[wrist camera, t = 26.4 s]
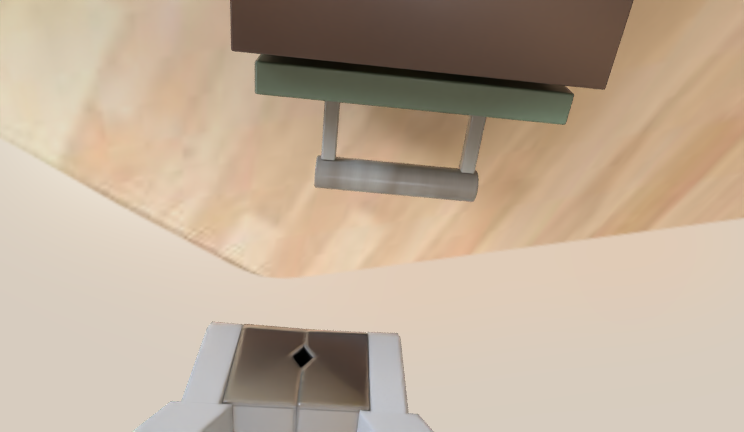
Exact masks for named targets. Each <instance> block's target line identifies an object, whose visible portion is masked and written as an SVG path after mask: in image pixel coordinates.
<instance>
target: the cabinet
mask: <svg viewBox="0 0 744 432" xmlns="http://www.w3.org/2000/svg"><path fill="white" fill-rule="evenodd" d="M632 3H633V0H230V13H231V49H232V51H237V52H247V53H257V54H266V55H276V56H285V57H295V58H305V59H314V60H324V61H333V62H343V63H353V64H362V65H372V66H381V67H391V68H401V69H410V70H420V71H429V72H439V73H449V74H458V75H468V76H477V77H487V78H497V79H506V80H516V81H525V82H535V83H545V84H554V85H564V86H573V87H583V88H593V89H602V90H603V89H605V88H606V84H607V81H608V78H609V75H610V72H611V69H612V66H613V63H614V60H615V56H616V53H617V50H618V47H619V44H620V41H621V38H622V35H623V31H624V28H625V25H626V22H627V19H628V16H629V13H630V10H631V6H632Z"/></svg>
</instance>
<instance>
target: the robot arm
mask: <svg viewBox="0 0 744 432" xmlns="http://www.w3.org/2000/svg"><path fill="white" fill-rule="evenodd" d="M132 432H433V431H432V429H431V428H430V427H429V426H428V425H427V424H426V423H425V422H424V420H423V419H422V418H421V417H420V416H419V415H418V414H409V413H408V404H407V395H406V386H405V377H404V367H403V358H402V348H401V339H400V336H399V335H398V333H381V332H368V333H366V332H351V331H350V332H349V331H331V330H315V329H299V328H288V327H275V326H264V325H253V324H244V325H242V324H234V323H222V322H212V323H211V324H210V325H209V326H208V328H207V330H206V333H205V335H204V338H203V341H202V344H201V347H200V350H199V353H198V356H197V358H196V361H195V364H194V367H193V370H192V373H191V375H190V378H189V381H188V384H187V386H186V389H185V392H184V395H183V398H182V401H181V402H179V401H171V402H169V403H168V404H167V405H165V406H164V407H163V408H162V409H160V410H159V411H158V412H157V413H155V414H154V415H153V416H151V417H150V418H149V419H148V420H146V421H145V422H144V423H142V424H141V425H140V426H139V427H137V428H136V429H135V430H134V431H132Z"/></svg>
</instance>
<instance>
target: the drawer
mask: <svg viewBox="0 0 744 432" xmlns="http://www.w3.org/2000/svg"><path fill="white" fill-rule="evenodd" d="M255 93H256V94H262V95H272V96H282V97H292V98H302V99H312V100H322V101H325V108H324V123H323V139H322V154H321V156H319V155H318V156H317V160H316V168H315V187H316V188H326V189H337V190H348V191H359V192H370V193H381V194H391V195H402V196H413V197H424V198H435V199H446V200H457V201H468V202H473V201H474V200H475V198H476V195H477V190H478V173H477V171H476V170H475V167H476V162H477V158H478V153H479V149H480V144H481V139H482V135H483V130H484V125H485V121H486V117H492V118H502V119H512V120H522V121H532V122H542V123H552V124H562V125H564V124H566V121H567V118H568V114H569V111H570V108H571V104H572V101H573V97H574V94H573V93H572V92H571V91H570V90H569V89H568V88H567V87H566V86H564V85H554V84H545V83H535V82H525V81H516V80H506V79H497V78H487V77H477V76H468V75H458V74H449V73H439V72H429V71H420V70H410V69H401V68H391V67H381V66H372V65H362V64H353V63H343V62H333V61H324V60H314V59H305V58H295V57H285V56H276V55H266V54H260V56H259V57H258V59H257V60H256V62H255ZM340 102H342V103H352V104H362V105H372V106H382V107H392V108H402V109H412V110H422V111H432V112H442V113H452V114H462V115H469V120H468V125H467V130H466V135H465V140H464V145H463V150H462V155H461V160H460V165H459V168H460V169H457V168H446V167H436V166H425V165H415V164H404V163H393V162H383V161H372V160H362V159H351V158H340V157H336V148H337V135H338V122H339V109H340Z"/></svg>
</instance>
